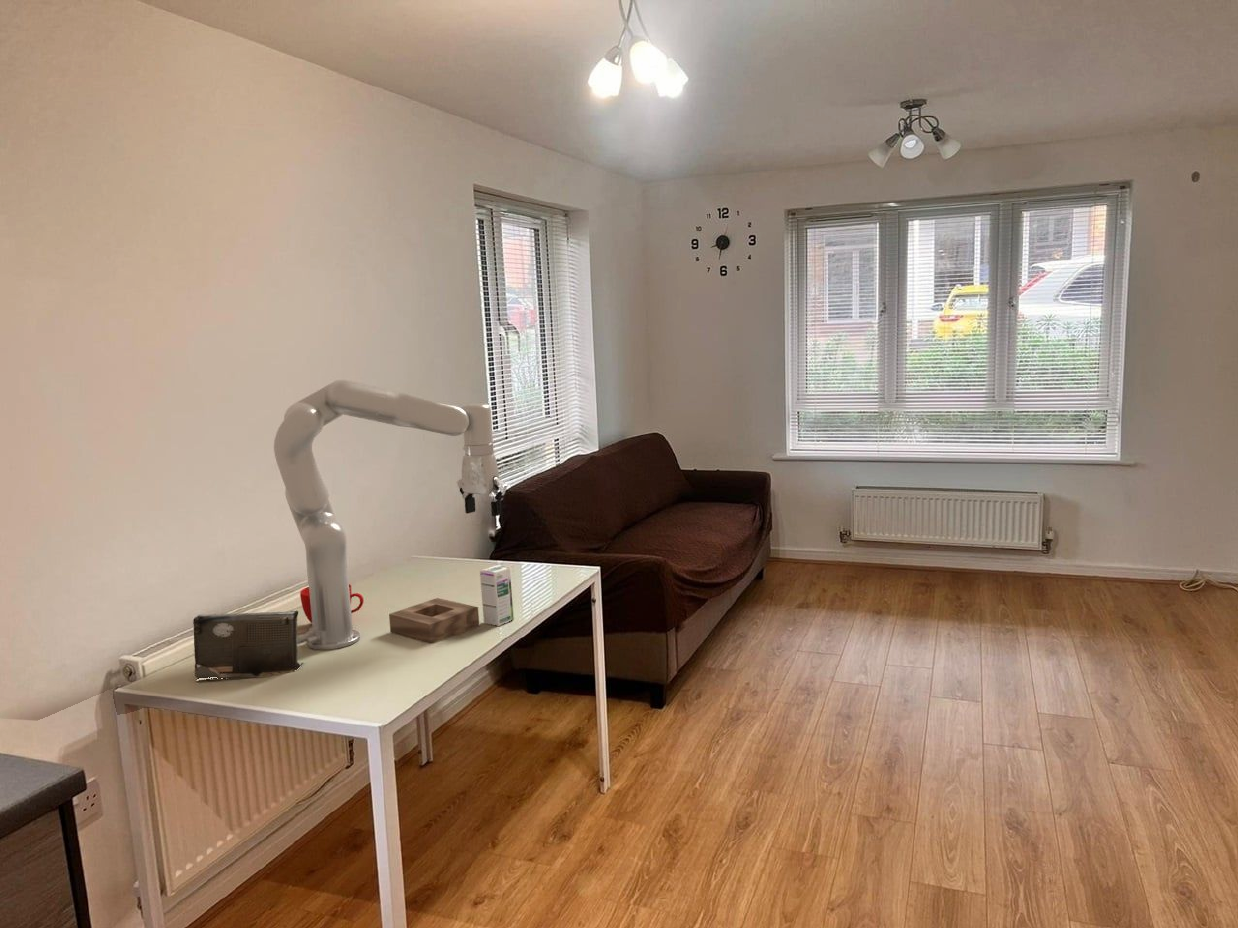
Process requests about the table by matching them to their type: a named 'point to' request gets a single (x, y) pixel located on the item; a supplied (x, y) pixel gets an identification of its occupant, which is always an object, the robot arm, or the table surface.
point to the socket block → (434, 620)
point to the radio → (245, 644)
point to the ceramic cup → (307, 607)
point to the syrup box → (496, 595)
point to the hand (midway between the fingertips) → (483, 514)
